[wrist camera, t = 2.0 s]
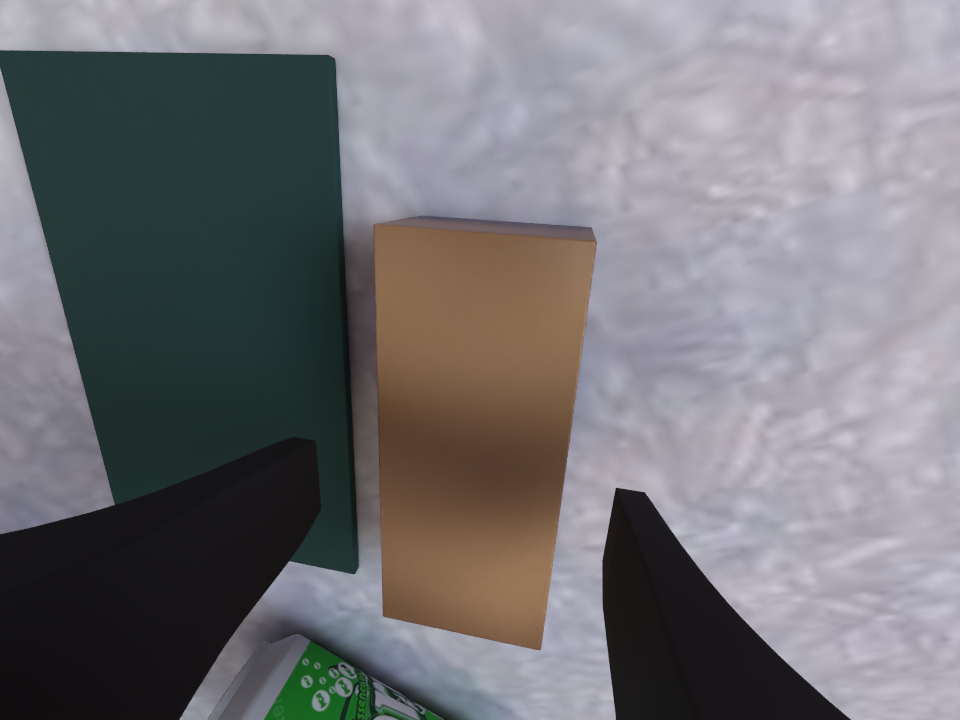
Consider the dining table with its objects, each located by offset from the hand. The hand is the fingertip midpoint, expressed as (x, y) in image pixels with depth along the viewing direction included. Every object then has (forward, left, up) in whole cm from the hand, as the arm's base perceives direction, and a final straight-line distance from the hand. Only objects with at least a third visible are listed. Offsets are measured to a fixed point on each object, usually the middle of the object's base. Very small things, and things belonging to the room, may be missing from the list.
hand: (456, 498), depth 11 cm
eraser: (0, 0, -5) cm, 5 cm away
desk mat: (+1, +11, -5) cm, 12 cm away
